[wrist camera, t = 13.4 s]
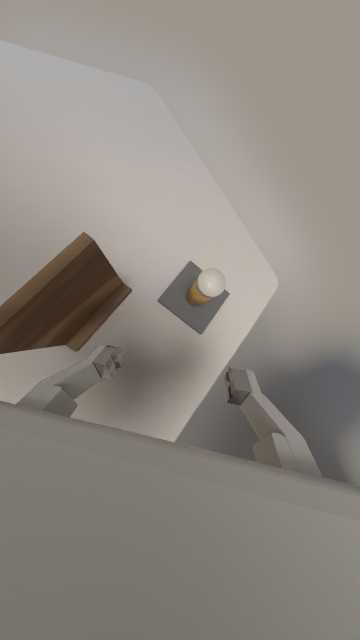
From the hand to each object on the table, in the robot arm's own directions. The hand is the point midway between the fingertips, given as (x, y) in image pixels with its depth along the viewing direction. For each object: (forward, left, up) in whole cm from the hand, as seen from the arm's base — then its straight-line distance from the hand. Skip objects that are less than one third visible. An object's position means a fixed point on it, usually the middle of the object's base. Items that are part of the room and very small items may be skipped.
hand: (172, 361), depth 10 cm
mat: (0, +11, -15) cm, 19 cm away
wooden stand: (-13, -3, -15) cm, 21 cm away
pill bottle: (0, +11, -15) cm, 19 cm away
